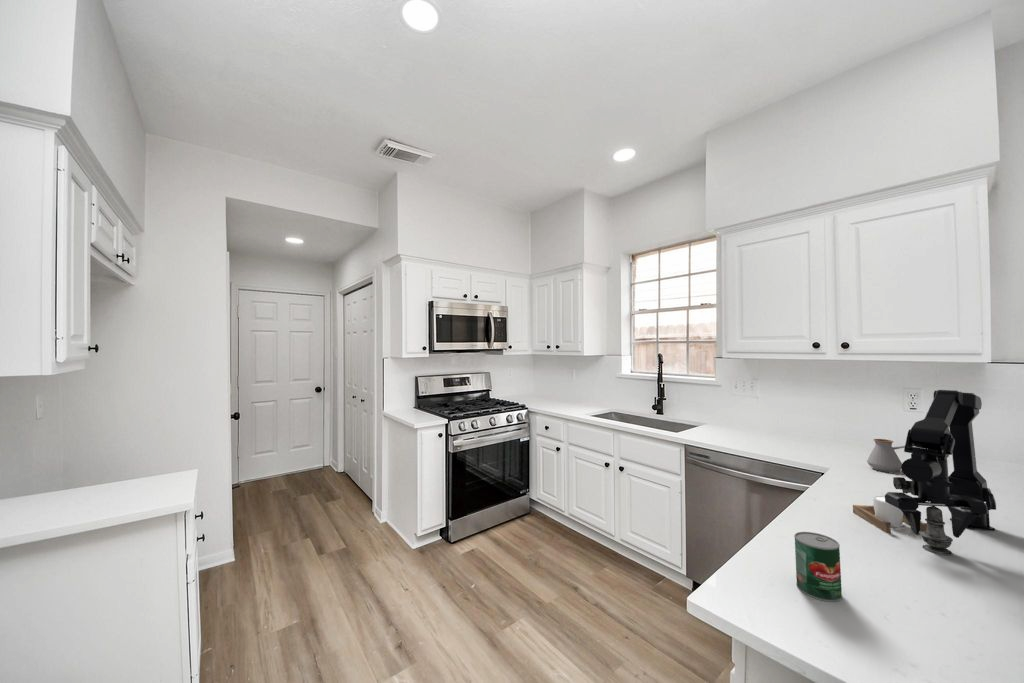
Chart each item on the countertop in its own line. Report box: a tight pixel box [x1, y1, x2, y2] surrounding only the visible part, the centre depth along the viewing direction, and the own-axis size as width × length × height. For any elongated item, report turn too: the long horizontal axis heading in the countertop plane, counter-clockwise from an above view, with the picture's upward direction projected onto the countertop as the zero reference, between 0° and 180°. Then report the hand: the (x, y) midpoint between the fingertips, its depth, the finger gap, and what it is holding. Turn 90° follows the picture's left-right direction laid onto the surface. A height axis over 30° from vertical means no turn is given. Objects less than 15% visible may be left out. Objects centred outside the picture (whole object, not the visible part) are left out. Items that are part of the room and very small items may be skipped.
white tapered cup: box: [871, 495, 903, 528], centre depth 118 cm, size 7×7×7 cm
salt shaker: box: [919, 506, 954, 556], centre depth 102 cm, size 6×6×12 cm
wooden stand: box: [852, 504, 927, 534], centre depth 117 cm, size 11×15×3 cm
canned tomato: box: [793, 531, 843, 603], centre depth 85 cm, size 8×8×11 cm
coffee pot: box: [866, 438, 915, 473], centre depth 166 cm, size 21×12×15 cm, turn 32°
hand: (935, 535), depth 101 cm, fingers closed on salt shaker, 8 cm apart
